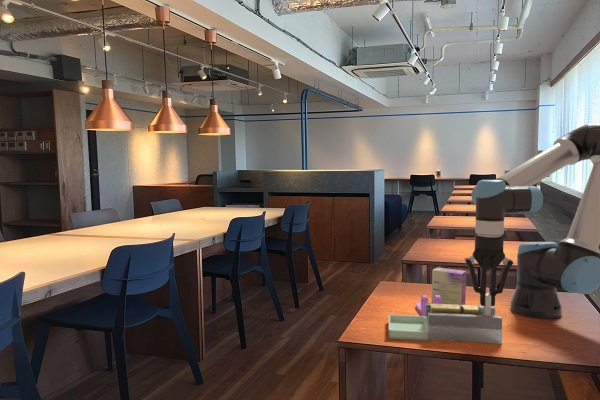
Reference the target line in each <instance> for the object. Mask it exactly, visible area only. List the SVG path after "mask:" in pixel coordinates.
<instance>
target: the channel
mask: <svg viewBox="0 0 600 400" xmlns="http://www.w3.org/2000/svg"><path fill="white" fill-rule="evenodd" d="M430 304H432V302H428V303H426V322H427V326H428V331H429V341H445V342H463V343H476V344H478V343H479V344H494V345H495V344H498V345H500V344H501V345H502V344H503V317H502V316H501V315H496V307H495V305H494V306H491V316H489V315H483V309H484V306H481V305H474V306H477V307H478V309H479V315H468V314H462V305H459V307H460V314H447V313H430ZM450 305H454V304H450Z"/></svg>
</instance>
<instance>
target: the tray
mask: <svg viewBox="0 0 600 400" xmlns="http://www.w3.org/2000/svg"><path fill="white" fill-rule="evenodd" d="M388 340H400V341H401V340H402V341H404V340H405V341H418V342H419V341H420V342H421V341H422V342H430V340H429V331H428V326H427V322H426V317H425V316H422V315H409V314H408V315H405V314H389V313H388Z"/></svg>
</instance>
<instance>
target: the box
mask: <svg viewBox="0 0 600 400" xmlns="http://www.w3.org/2000/svg"><path fill="white" fill-rule="evenodd" d="M431 273H432V274H431V304H434V295H440V297H441V304H454V305H466V297H467V295H466V294H467V290H466V288H467V270H461V269H453V268H452V269H451V268H444V267H435V268H433V269H432V271H431Z"/></svg>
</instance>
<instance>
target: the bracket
mask: <svg viewBox="0 0 600 400" xmlns="http://www.w3.org/2000/svg"><path fill="white" fill-rule="evenodd" d="M426 303H429V297H428V295H427V294H423V295H422V294H421V296H420V302H416V303H415V309H416V310H417V312H419V314H420V316H425V317H426ZM433 304H441V297H440V295H434V303H433Z"/></svg>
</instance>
